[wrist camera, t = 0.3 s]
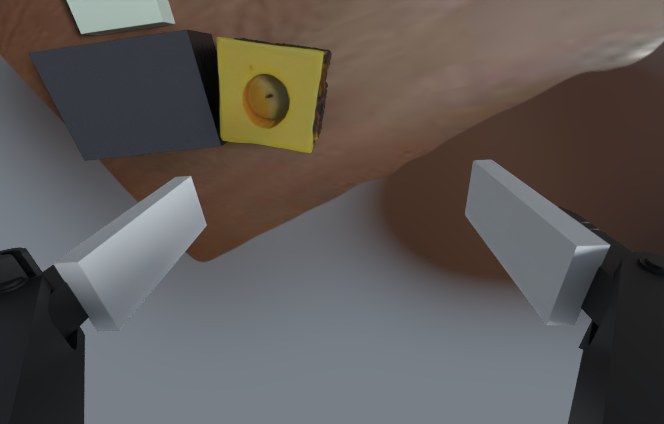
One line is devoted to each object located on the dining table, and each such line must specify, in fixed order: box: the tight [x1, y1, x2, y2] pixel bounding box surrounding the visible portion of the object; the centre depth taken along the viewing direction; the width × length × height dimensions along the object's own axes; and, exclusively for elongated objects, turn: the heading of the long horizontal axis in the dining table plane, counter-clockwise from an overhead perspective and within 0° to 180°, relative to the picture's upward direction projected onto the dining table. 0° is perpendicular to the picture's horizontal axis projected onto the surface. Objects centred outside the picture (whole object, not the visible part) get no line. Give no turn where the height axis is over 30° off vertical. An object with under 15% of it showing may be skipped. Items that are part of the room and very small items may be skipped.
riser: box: [28, 30, 228, 161], centre depth 36 cm, size 12×18×6 cm, turn 97°
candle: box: [217, 37, 332, 153], centre depth 33 cm, size 10×10×10 cm
